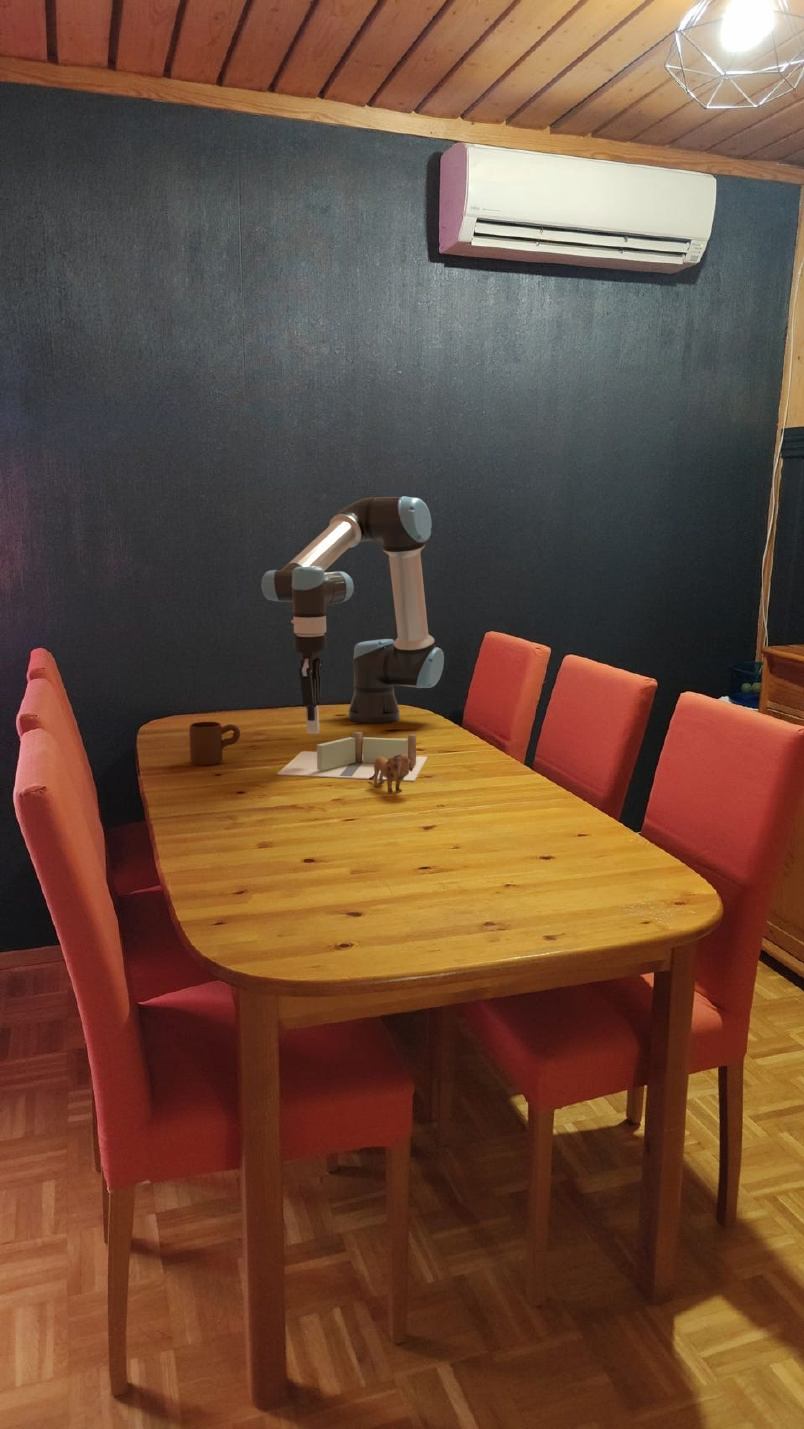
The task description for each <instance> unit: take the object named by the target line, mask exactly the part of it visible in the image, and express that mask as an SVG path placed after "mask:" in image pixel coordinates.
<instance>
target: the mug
mask: <svg viewBox="0 0 804 1429" xmlns="http://www.w3.org/2000/svg"><path fill="white" fill-rule="evenodd" d="M221 725H222V724H221V723H220V722H218V721H198V722H192V723H191V724H190V725H189V731H188V734H189V754H190V756H189V757H190V762H191V764H192V765H195V766H198V765H199V767H200V766H201V767H202V766H203V767H206V766H207V767H208V766H209V767H211V766H216V765H219V764H220V763H222V761H223V749H224V748H226V747H227V746H231V745H234V744H235V743H237V742H238V741H239V739H240V736H241V730H240V728H239V727H238V726H237V725H234V724H231V723H230V724H227V725H224V726H221ZM230 731H231V732H233V735H232V736H231V737H229V738H224V739H223V736H222V735H223V734H226V733H228V732H230Z"/></svg>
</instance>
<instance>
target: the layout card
mask: <svg viewBox="0 0 804 1429" xmlns="http://www.w3.org/2000/svg"><path fill="white" fill-rule="evenodd" d="M428 758H429V756H417V755H416V765H415V767H414V768H413V771H412V772H411V771H409V774H408V775H407V776H405V777H404V779H403V780H402V781H401V782H409V783H410V782H412V783H414V782H415V781H416V780H417V778H418V776H419V774H420V772H421V770H422V768H423V767H424V765H425V764H426V761H427V760H428ZM362 759H363V753H362ZM374 764H375V763H363V762H361V763H351V764H347V765H343V766H340V767H336V768H332V769H328V770H324V771H320V770H317V751H307V750H304V751H301V752H299V753H298V754H297V755H296V756H295V757H294V758H293V759H292V760H290V762H289V763H288V764H286V765H285V766H283V768H281V770H280V771H278V772H277V773H276V776H287V777H289V776H291V777H308V778H309V777H310V778H311V777H312V778H313V777H314V778H327V779H328V778H330V779H332V778H333V779H350V780H352V779H353V780H368V778H370V777H372V776H373V775H374V773H375V772H374ZM380 772H381V771H379V774H378V780H377V781H379V776H380ZM374 778H375V777H374ZM383 780H384V781H387V778H385V777H384V776H383ZM372 781H374V779H373V780H372Z"/></svg>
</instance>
